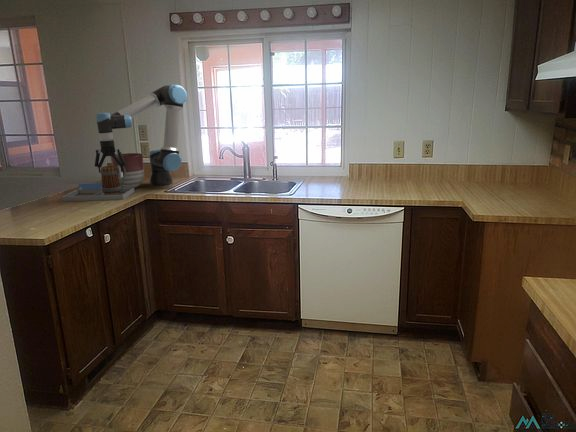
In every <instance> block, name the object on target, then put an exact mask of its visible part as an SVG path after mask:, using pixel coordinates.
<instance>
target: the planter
mask: <svg viewBox="0 0 576 432" xmlns="http://www.w3.org/2000/svg"><path fill="white" fill-rule="evenodd" d="M115 154H116V153H115ZM116 156H117V157H118V158H119V160H120V157H119V155H118V153H117V154H116ZM122 156H123V158H124V160H125V162H126V165H124V167H125V169H126V177H125V179H124V181H123V182H122V184H121V186H122V185H124V188H134V189H135V188H137V187H139V186H140V185H141V184H142V183H143V180H144V175H145V172H144V171H145V169H144V156H143V153H139V152H138V153H137V152H135V153H133V152H132V153H129V152H128V153H122ZM109 157H110V162H111V163H110V164H111V166H116V167H117V166H118V165H119V164H118V163H117V162H116V160H115V159H114V158H113V157H112V156H109ZM120 161H121V160H120ZM118 171H119V169H118ZM118 177H119V182H120V180H121V179H122V178H120V172H119V174H118Z"/></svg>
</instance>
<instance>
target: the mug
mask: <svg viewBox="0 0 576 432" xmlns="http://www.w3.org/2000/svg"><path fill="white" fill-rule="evenodd" d="M119 167H120V165H118V166H117V167H116V166H112V165H105V166H102V167H101V173H100V175H102V178H101V183H102V192H103V193H105V194H106V195H112V194H117V192H118V193H121V192H120V191H121V188H124V185H122V186H121V184H122V182H123V181H124V179H125V177H126V169H125V167H124V166H123V168H124V172H123V177H122V179H121V180H120V182H119V177H118V174H119V171H118V169H119Z"/></svg>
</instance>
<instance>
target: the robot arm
mask: <svg viewBox="0 0 576 432" xmlns="http://www.w3.org/2000/svg"><path fill="white" fill-rule="evenodd" d="M187 99H188V93H187V90H186V89H185V88H184V87H183V86H182V85H180V84H169V85H163V86H160V87H159V88H158V89H155V90H154V91H152V92H150V93H149V95H148V96H146V97H144V98H142V99H140V100H137V101H136V102H134V103H132V104H130V105H127V106H126V107H124V108H122V109H120V110H118V111H116V112H114V113H112V114H110V112H98V113H96V115H95V120H96V125H97V131H98V137H99V138H98V139H99V145H100V149H95V153H96V155H95V158H94V159H95V160H94V167H96V168H98V173H100V175H101V167H103V164H104V161H105V159H106V157H110V156H112V157H113V158H114V159H115V160H116V162H117V163H118V164H119V165H120V167H119V172H120V178H122V177H123V172H124V168H123V166H124V165H126V162H125V160H124V158H123V156H122V154H123V153H122V149H121V148H116V147H115V146H116V145H115V141H114V134H113V130H117V129H118V130H119V129H128V128H132V125H133V119H134V118H136V117H137V116H140V115H142V114H144V113H146V112H148V111H150V110H152V109H153V108H156V107H158V108H159V107H161V106H164V107H165V122H164V135H163V146H162V147H161V148H160V149H155V150H150V151H149V155H148V157H149V161H150V162H149V164H150V172H151V174H150V177H149V178H150V179H149V185H150V186H157V187H158V186H159V187H160V186H167V185H171V184H173V183H174V180H173V178H172V175H171V173H170V172H174V171H177V170H178V169H179V168H180V167H181V166H182V163H183V162H182V157H181V155H180V150H179V148H178V140H179V130H180V126H179V125H180V117H181V110H182V109H184V103H185V102H186V101H187ZM116 153H117V154H118V155H119V157H120V160H121V161H120V160H119V158H118V157H117V156H116ZM100 156H101V158H100ZM100 178H101V179H102V175H101V177H100Z"/></svg>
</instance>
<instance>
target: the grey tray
mask: <svg viewBox="0 0 576 432" xmlns="http://www.w3.org/2000/svg"><path fill="white" fill-rule="evenodd" d="M77 184H78V189H75V190H73V191H71V192H69V193H67V194H65V195H63V196H61V198H60V199H61V202H75V201H76V202H78V201H80V202H81V201H109V200H111V201H112V200H115V201H116V200H117V201H118V200H125V199H126V198H128V197H129V196H131V195H132V194H134V193H135V188H121V191H120V192H117V193H122V194H117V193H116V194H106V193H103V192H102V182H89V183H88V182H87V183H82V182H81V183H77ZM79 194H92V195H79Z"/></svg>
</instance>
